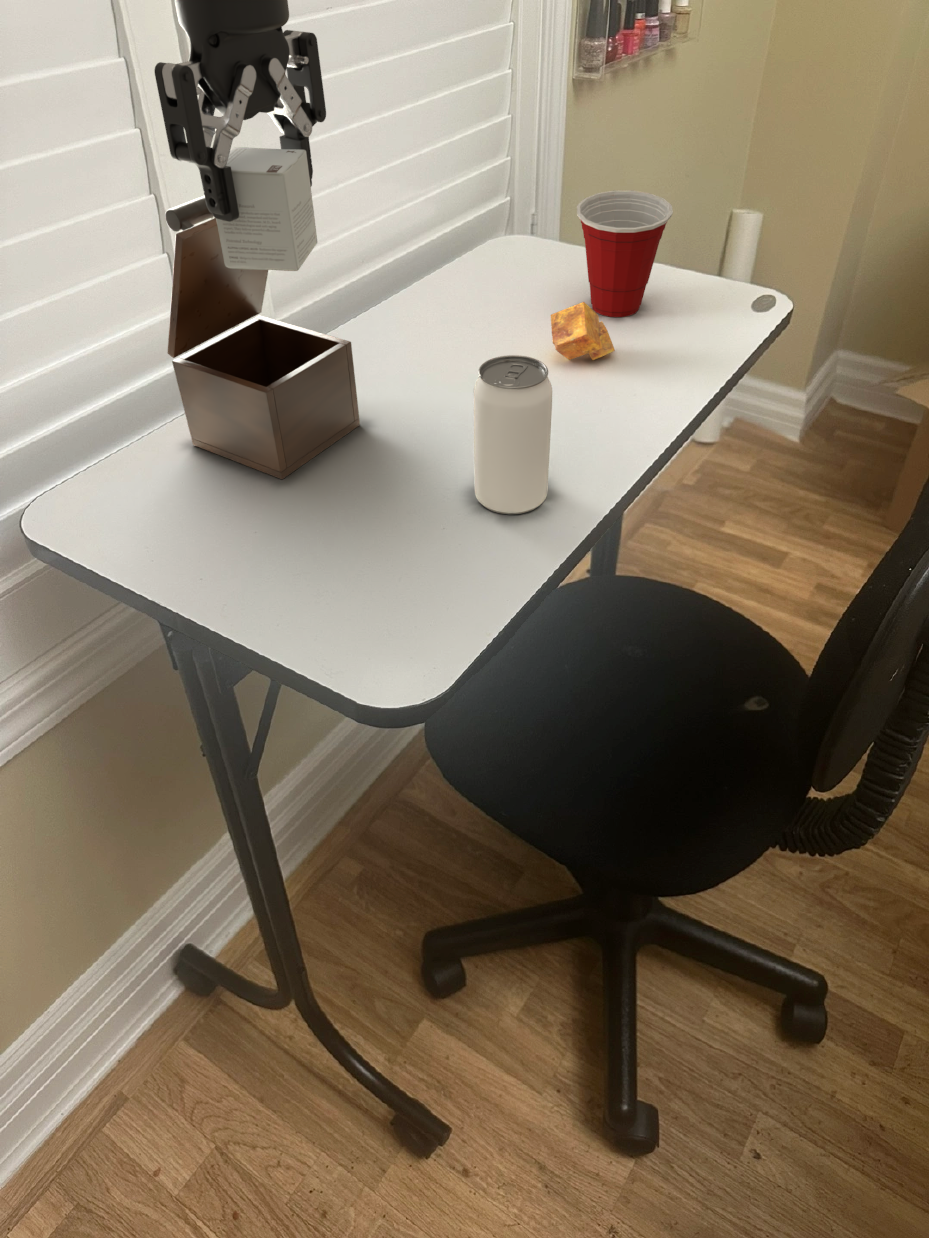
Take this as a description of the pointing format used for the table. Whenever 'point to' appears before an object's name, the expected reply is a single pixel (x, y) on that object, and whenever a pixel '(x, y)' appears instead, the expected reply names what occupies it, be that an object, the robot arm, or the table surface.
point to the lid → (206, 281)
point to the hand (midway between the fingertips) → (264, 203)
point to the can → (512, 434)
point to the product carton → (269, 210)
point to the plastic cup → (621, 246)
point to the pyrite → (580, 333)
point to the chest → (269, 394)
